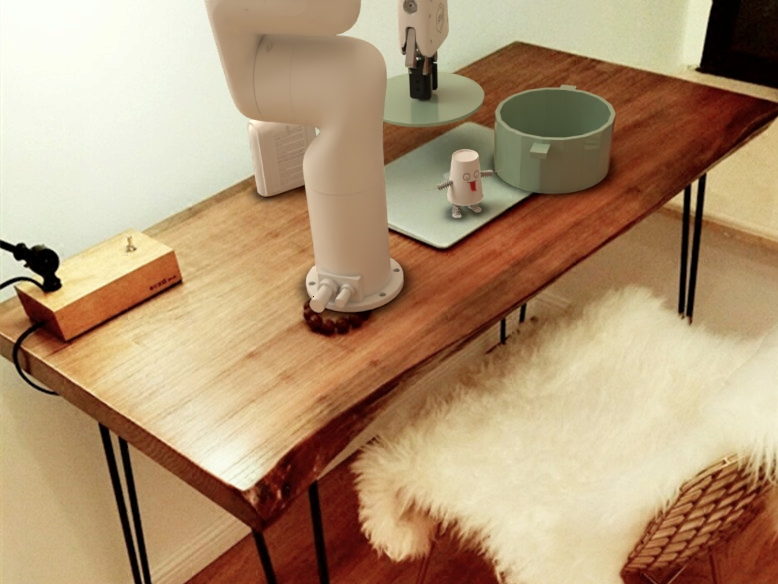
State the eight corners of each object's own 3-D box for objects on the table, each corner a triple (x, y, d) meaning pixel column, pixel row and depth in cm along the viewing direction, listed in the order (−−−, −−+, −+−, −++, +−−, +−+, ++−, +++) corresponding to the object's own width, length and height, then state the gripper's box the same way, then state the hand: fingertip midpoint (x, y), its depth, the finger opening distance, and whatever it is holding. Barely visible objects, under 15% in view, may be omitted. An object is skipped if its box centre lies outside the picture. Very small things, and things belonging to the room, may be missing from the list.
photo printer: (311, 169, 141) (302, 92, 133) (325, 179, 139) (316, 101, 130) (252, 190, 137) (239, 112, 129) (265, 201, 135) (252, 122, 126)
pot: (619, 137, 144) (625, 85, 138) (595, 209, 128) (601, 154, 123) (513, 126, 149) (514, 76, 143) (477, 195, 133) (477, 141, 127)
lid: (497, 84, 142) (498, 45, 138) (466, 137, 130) (466, 96, 126) (387, 74, 147) (385, 37, 143) (347, 124, 135) (343, 85, 131)
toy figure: (437, 231, 126) (435, 175, 120) (419, 212, 130) (417, 158, 124) (512, 209, 130) (514, 154, 124) (493, 191, 133) (494, 137, 128)
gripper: (428, -14, 119) (432, 119, 131) (461, -53, 130) (462, 74, 142) (374, -17, 121) (383, 114, 133) (411, -55, 132) (416, 70, 144)
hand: (424, 92), depth 137 cm, fingers closed on lid, 2 cm apart
